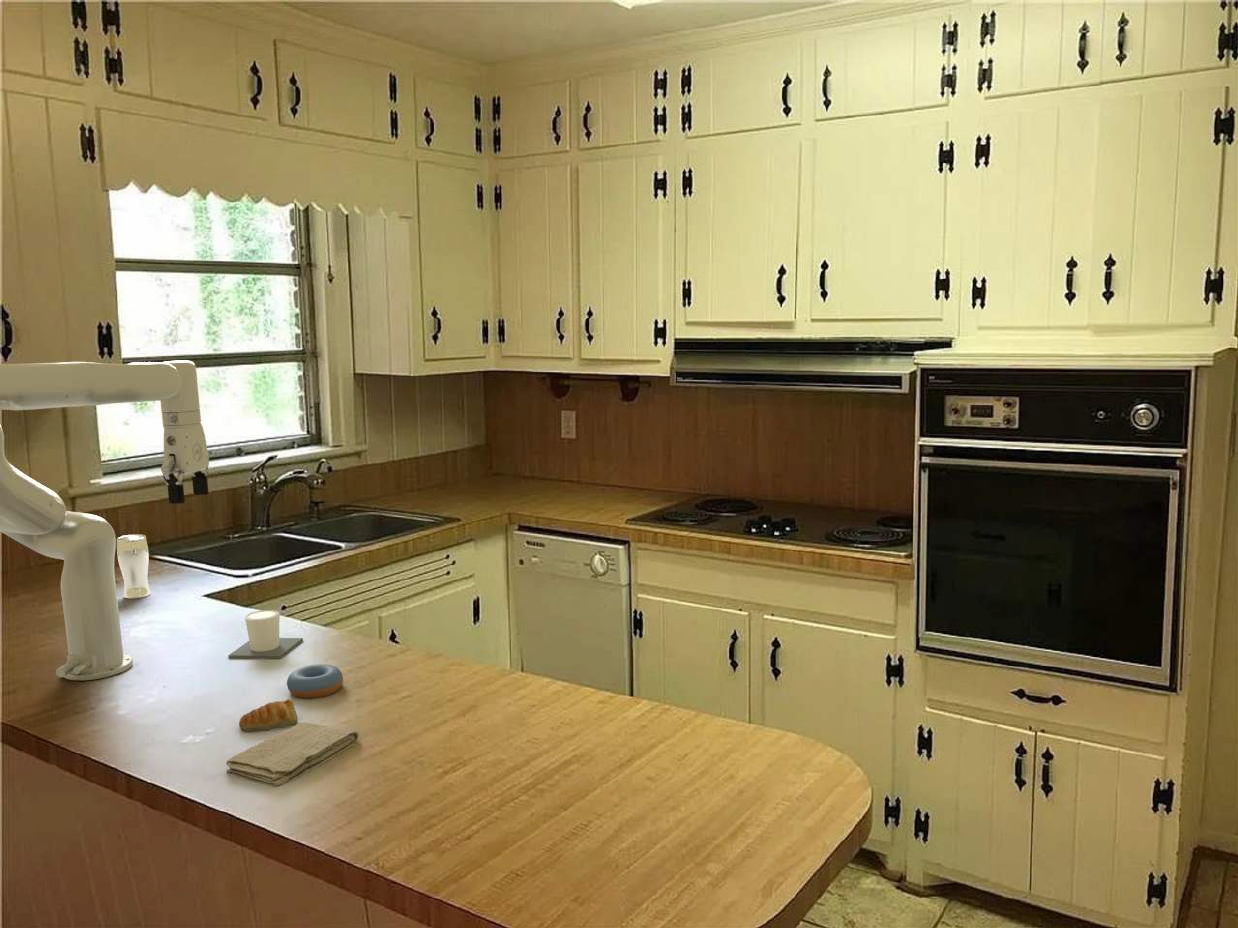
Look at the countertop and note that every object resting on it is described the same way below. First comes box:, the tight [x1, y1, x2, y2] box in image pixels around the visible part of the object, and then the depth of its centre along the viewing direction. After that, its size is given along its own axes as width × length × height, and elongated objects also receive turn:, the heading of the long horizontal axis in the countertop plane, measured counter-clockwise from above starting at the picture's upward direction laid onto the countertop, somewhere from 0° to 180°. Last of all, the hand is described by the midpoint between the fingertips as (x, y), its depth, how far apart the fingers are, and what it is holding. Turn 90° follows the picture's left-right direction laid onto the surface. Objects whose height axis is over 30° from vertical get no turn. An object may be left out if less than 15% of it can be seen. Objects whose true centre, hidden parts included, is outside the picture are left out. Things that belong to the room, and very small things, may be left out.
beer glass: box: [116, 533, 152, 600], centre depth 252 cm, size 7×7×15 cm
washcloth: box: [226, 721, 360, 787], centre depth 159 cm, size 12×18×3 cm, turn 154°
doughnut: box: [286, 663, 344, 699], centre depth 187 cm, size 10×10×5 cm
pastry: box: [238, 698, 299, 733], centre depth 172 cm, size 9×7×4 cm
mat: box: [228, 637, 304, 660], centre depth 210 cm, size 11×11×1 cm
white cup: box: [244, 609, 281, 652], centre depth 210 cm, size 7×7×7 cm
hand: (189, 498), depth 217 cm, fingers open, 9 cm apart
